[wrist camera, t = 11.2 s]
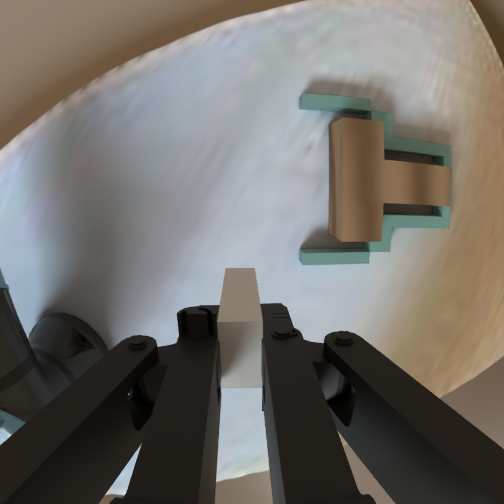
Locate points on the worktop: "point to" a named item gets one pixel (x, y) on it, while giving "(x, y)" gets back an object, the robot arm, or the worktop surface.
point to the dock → (389, 219)
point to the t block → (374, 181)
